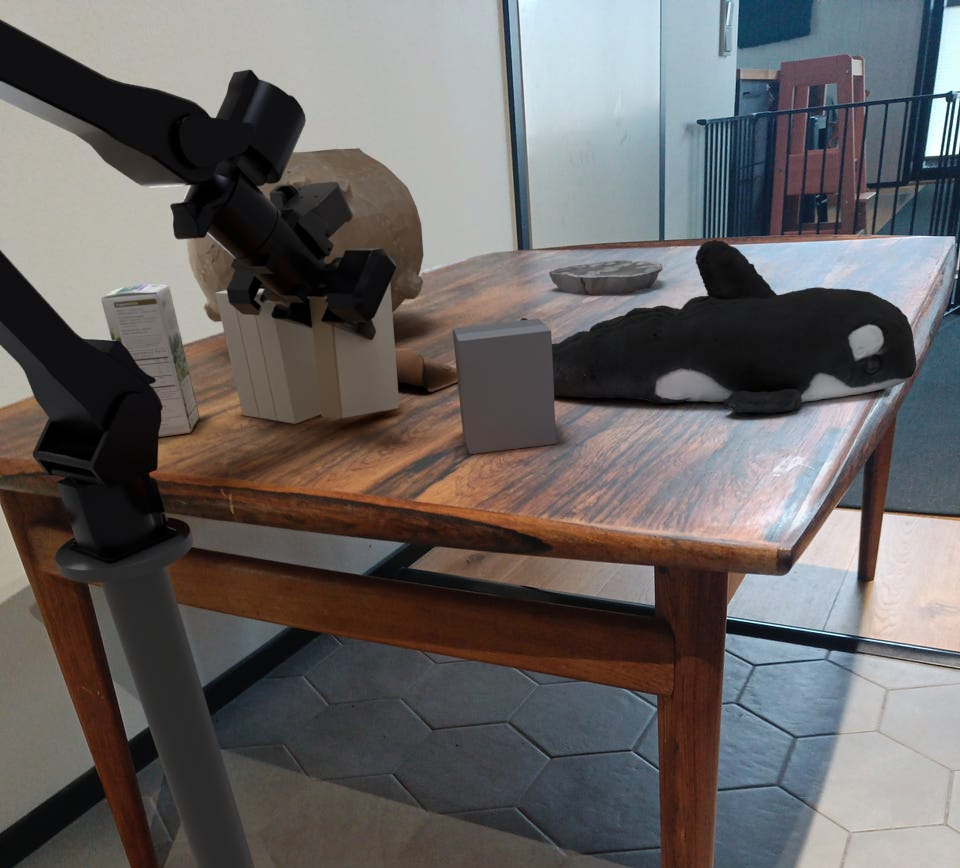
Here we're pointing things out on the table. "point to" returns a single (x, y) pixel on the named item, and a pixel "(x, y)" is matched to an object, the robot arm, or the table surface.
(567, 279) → the grey stone slab
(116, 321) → the syrup box
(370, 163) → the ceramic pot
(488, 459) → the table surface
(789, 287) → the table surface
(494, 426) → the grey box
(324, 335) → the book
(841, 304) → the orca plush
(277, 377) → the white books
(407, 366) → the sunglasses case
